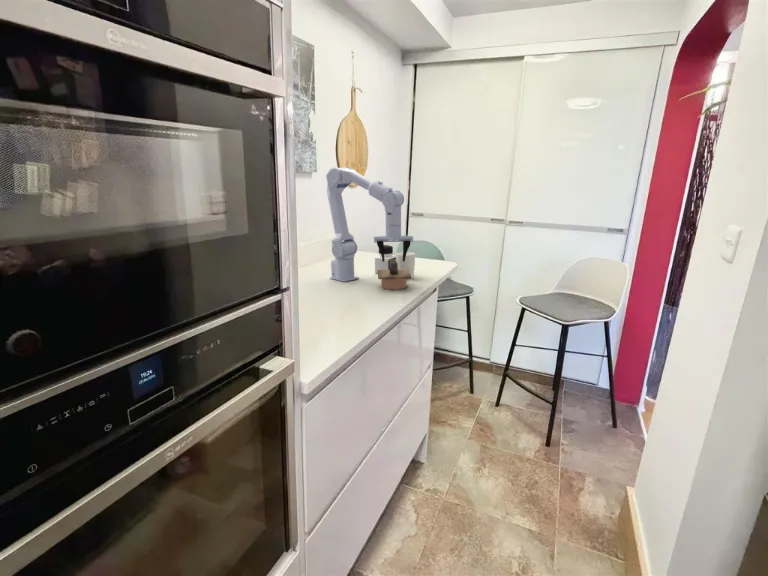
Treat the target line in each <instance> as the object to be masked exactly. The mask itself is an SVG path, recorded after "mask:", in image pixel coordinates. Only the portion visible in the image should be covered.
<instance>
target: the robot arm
mask: <svg viewBox="0 0 768 576" xmlns="http://www.w3.org/2000/svg"><path fill="white" fill-rule="evenodd" d="M325 179H326V183H327V184H326V195H327V199H328V206H329V209H330V215H331V220H332V225H333V230H334V234H335V235H334V236H333V238H332V240H331V253H332V255H333V258H332V259H331V262H330V269H331V273H330V274H331V276H330V277H329V279H331V280H336V281H341V282H345V283H347V282H350V281H353V280H358V279H360V276H355V258H354V257H356V256H355V255H356V254H357V251H358V245H357V243H356V240H355V238H354V236H353V235H352V234H351V233H350V232H349V226H348V221H347V216H346V211H345V206H344V201H343V196H342V193H343V192H344V190H345V189H347V188H348V187H349V186H350V185H351V184H355V185H357V186H359V187H361V188H363V189H365V190H367V191H368V194H369V196H371V197H372V198H375V199H376V200H378V202H380V203H382V206H384V211H385V235H381V236H380V235H379V236H373V243H376V245H377V247H378V251H379V250H380V252H381V256H382V262H384V245H385V244H384V243H398V242H399V243H402V252H403V261H405V257H406V254H407V252H409V251H408V250H409V249H410V246H411V243H414V236H413V235H402V206H403V204H404V202H405V196H404V194H403V193H402V192H401V191H400V190H393V188H392V187H388V186H386V185H384V182H382V181H381V180H379V181H378V180H377V181H374V182H373V181H371V180H370V179H369V178H366V177H365V176H364V175H362V174H361V173H358V172H357V170H356V169H352V168H351V167H336V166H335V167H331V168H330V169H329V170H328V172H327V173H326V175H325Z"/></svg>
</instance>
